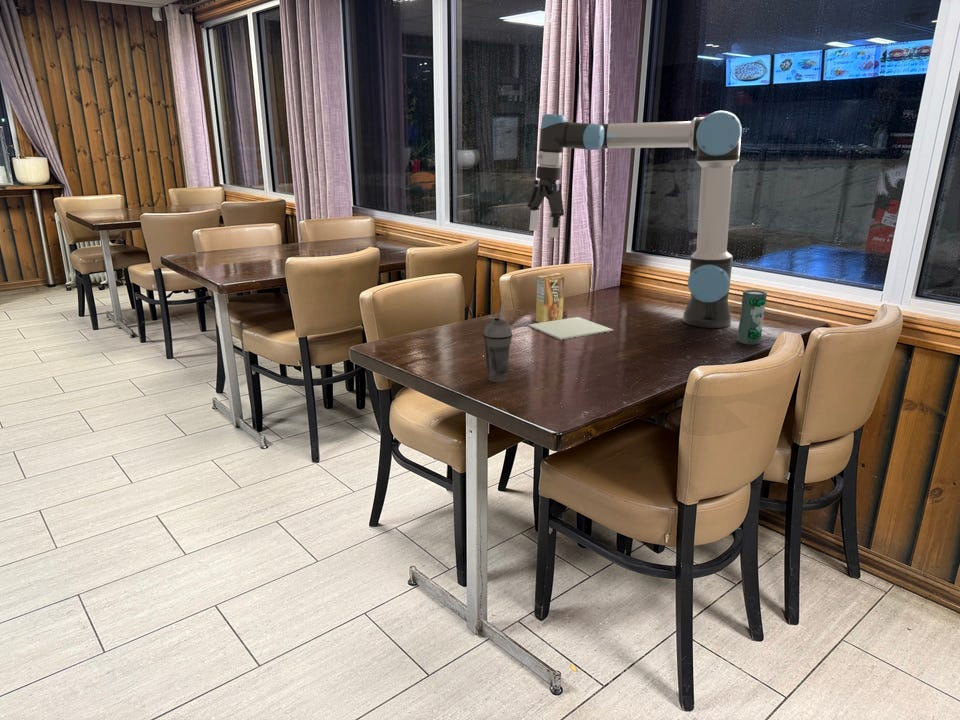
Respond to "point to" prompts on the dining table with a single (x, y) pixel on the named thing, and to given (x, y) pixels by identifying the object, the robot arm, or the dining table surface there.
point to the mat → (570, 328)
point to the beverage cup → (497, 347)
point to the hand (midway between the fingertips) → (542, 233)
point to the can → (751, 316)
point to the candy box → (549, 297)
